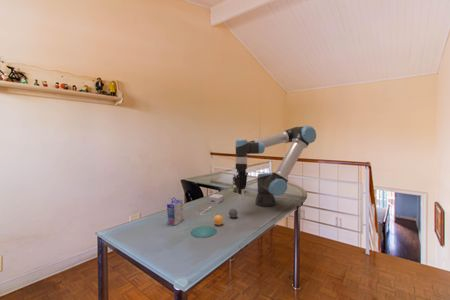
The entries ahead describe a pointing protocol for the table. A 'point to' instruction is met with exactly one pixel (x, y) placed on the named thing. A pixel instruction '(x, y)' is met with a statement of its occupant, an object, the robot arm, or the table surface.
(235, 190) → the coffee can
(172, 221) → the ink cartridge box
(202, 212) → the crossbow
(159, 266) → the table surface
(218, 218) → the object ball
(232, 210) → the dark grey ball
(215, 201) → the charger
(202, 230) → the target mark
